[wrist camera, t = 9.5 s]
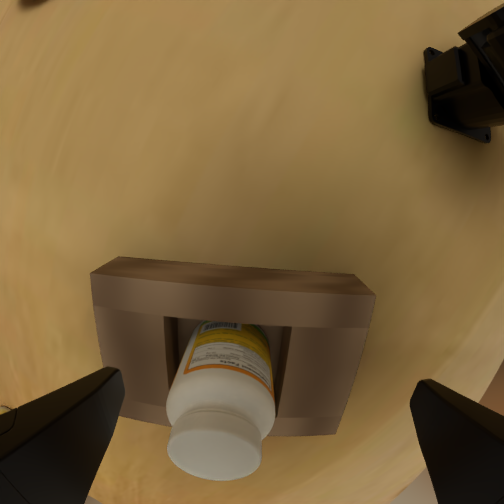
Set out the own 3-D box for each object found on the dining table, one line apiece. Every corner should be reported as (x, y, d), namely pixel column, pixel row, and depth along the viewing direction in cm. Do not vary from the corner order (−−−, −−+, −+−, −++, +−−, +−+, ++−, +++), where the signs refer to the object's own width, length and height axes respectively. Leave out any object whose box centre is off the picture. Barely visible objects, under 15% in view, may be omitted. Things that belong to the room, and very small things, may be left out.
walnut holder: (353, 274, 19) (376, 295, 15) (325, 400, 21) (335, 434, 17) (118, 256, 19) (89, 273, 15) (132, 384, 21) (115, 414, 17)
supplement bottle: (234, 389, 20) (224, 498, 11) (175, 346, 19) (129, 450, 10) (286, 344, 19) (306, 456, 10) (224, 294, 18) (199, 396, 9)
